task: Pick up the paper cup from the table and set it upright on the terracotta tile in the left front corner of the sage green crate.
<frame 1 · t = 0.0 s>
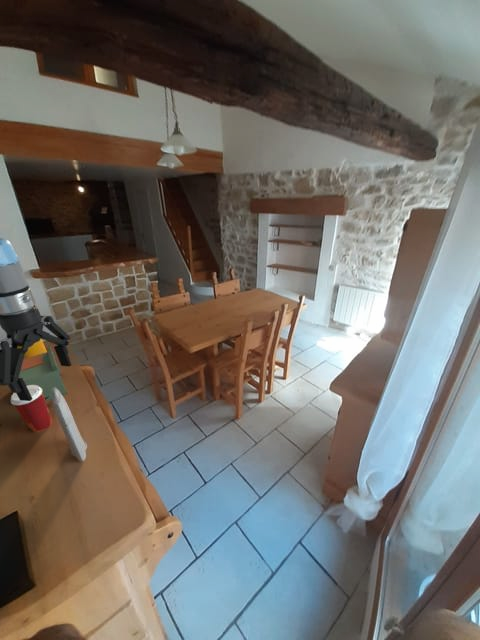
hand: (48, 381, 67), 23 cm above the counter, tool pointing down, fingers open, 13 cm apart
yellow bottle: (35, 357, 115), on the counter
tall pale column: (79, 449, 74), on the counter
paper cup: (41, 425, 82), on the counter
sage green crate: (45, 388, 97), on the counter
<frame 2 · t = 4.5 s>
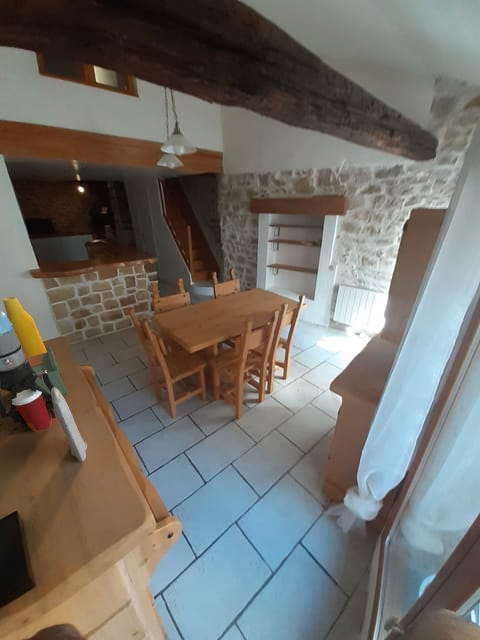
hand: (40, 421, 81), 2 cm above the counter, tool pointing down, fingers closed on paper cup, 7 cm apart
paper cup: (41, 425, 82), on the counter, touching gripper
everything else where it was.
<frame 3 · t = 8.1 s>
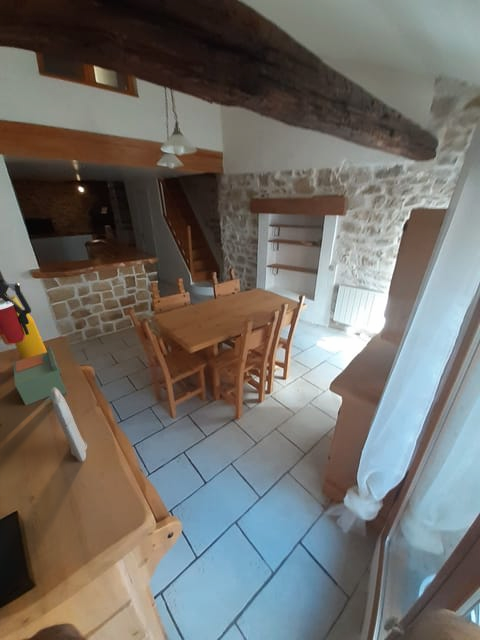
hand: (13, 336, 84), 25 cm above the counter, tool pointing down, fingers closed on paper cup, 7 cm apart
paper cup: (15, 340, 84), point 23 cm above the counter, touching gripper
everything else where it was.
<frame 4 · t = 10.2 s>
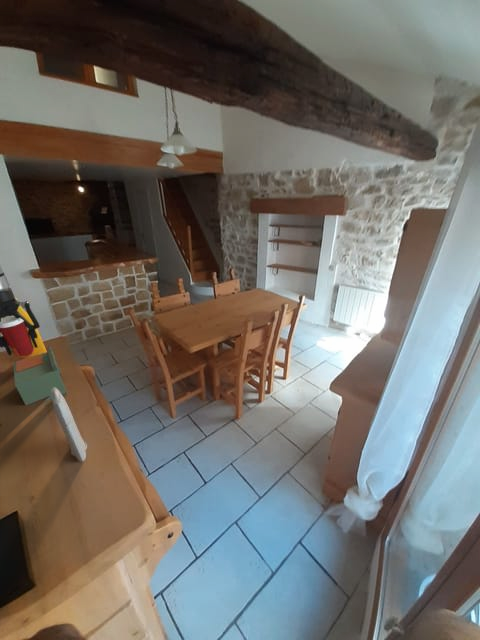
hand: (23, 349, 91), 17 cm above the counter, tool pointing down, fingers closed on paper cup, 7 cm apart
paper cup: (25, 353, 92), point 15 cm above the counter, touching gripper
everything else where it was.
when the fingers open (13 cm above the counter, at t = 11.7 s): paper cup stays where it is, resting on sage green crate.
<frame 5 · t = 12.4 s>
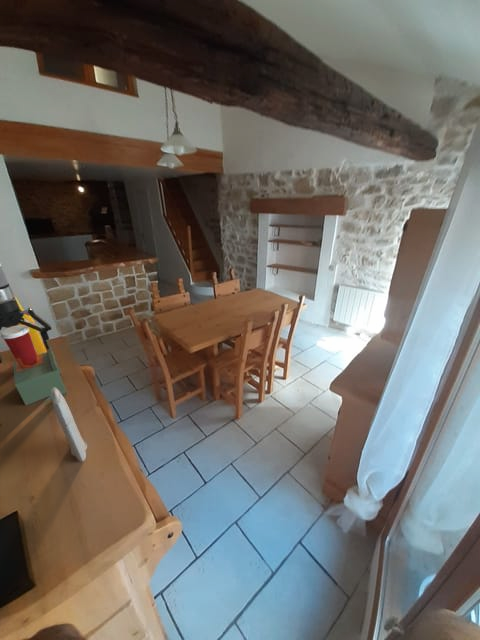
hand: (25, 354, 92), 15 cm above the counter, tool pointing down, fingers open, 13 cm apart
paper cup: (29, 362, 93), point 11 cm above the counter, touching sage green crate
everything else where it was.
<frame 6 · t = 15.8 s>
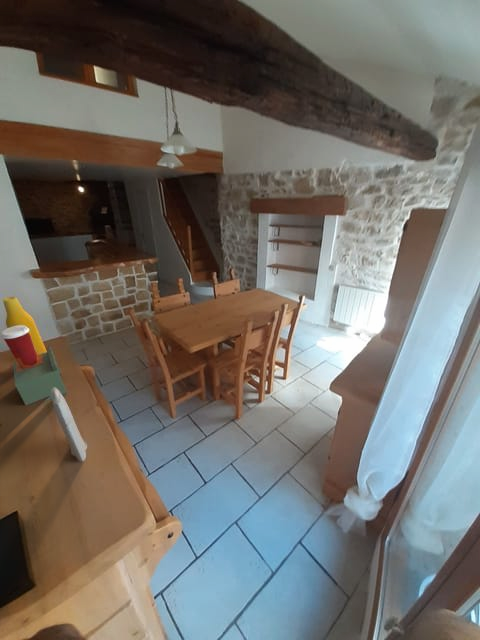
nothing on the counter moved.
at the end: paper cup 0.0 cm from the target spot on the sage green crate, point 11.0 cm above the sage green crate's base; paper cup tilted 0° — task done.
